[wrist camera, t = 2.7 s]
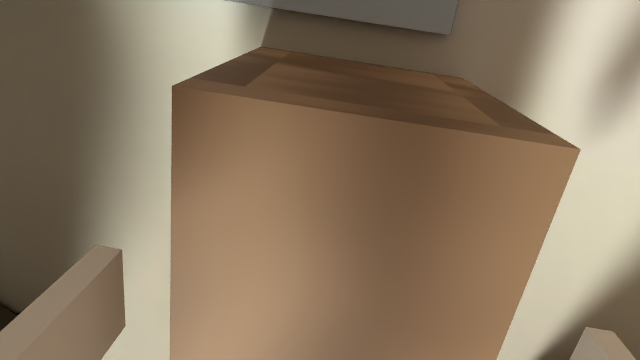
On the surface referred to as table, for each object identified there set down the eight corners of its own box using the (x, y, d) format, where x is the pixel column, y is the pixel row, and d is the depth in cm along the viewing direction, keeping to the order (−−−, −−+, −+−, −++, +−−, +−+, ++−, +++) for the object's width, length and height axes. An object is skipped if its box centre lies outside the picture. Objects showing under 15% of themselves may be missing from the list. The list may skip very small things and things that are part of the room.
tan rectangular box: (238, 310, 21) (168, 503, 13) (260, 47, 16) (172, 85, 8) (393, 335, 21) (422, 542, 13) (462, 78, 16) (580, 149, 8)
